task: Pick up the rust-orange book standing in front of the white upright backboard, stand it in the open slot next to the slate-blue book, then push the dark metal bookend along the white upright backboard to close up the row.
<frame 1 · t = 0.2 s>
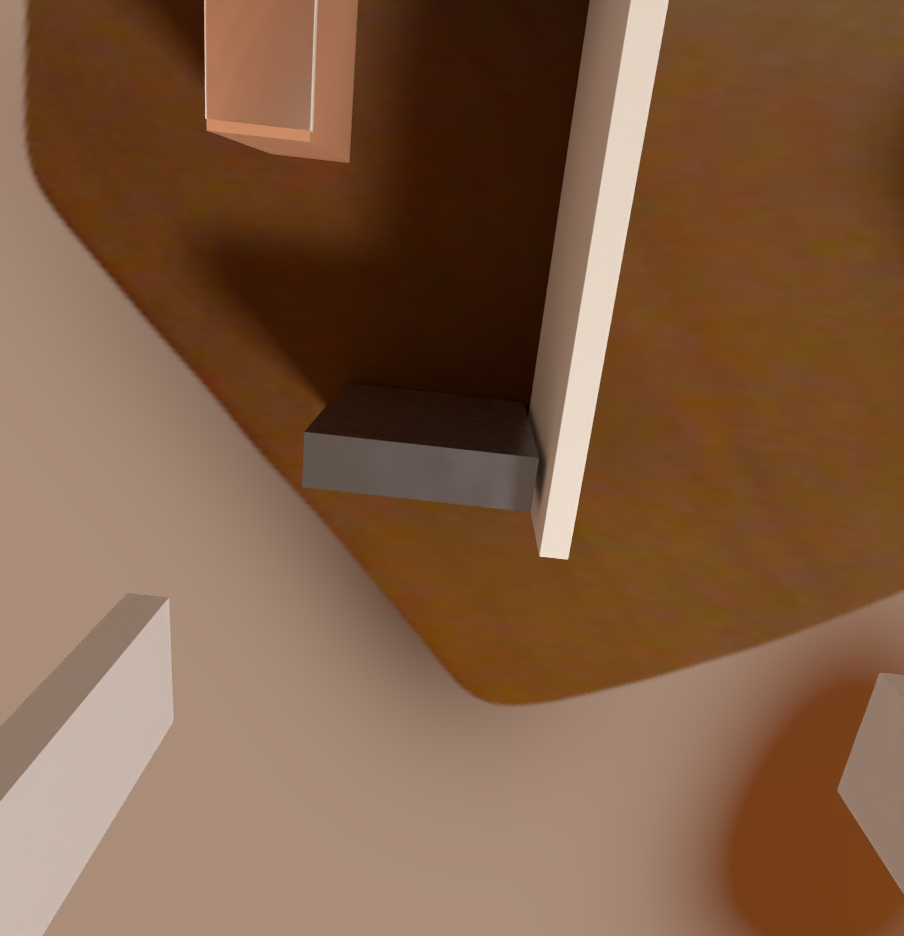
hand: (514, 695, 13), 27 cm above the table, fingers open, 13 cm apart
white upright backboard: (577, 166, 35), on the table
bookend: (426, 439, 34), point 5 cm above the table, slide at 0.0 cm
rust book: (314, 46, 34), on the table
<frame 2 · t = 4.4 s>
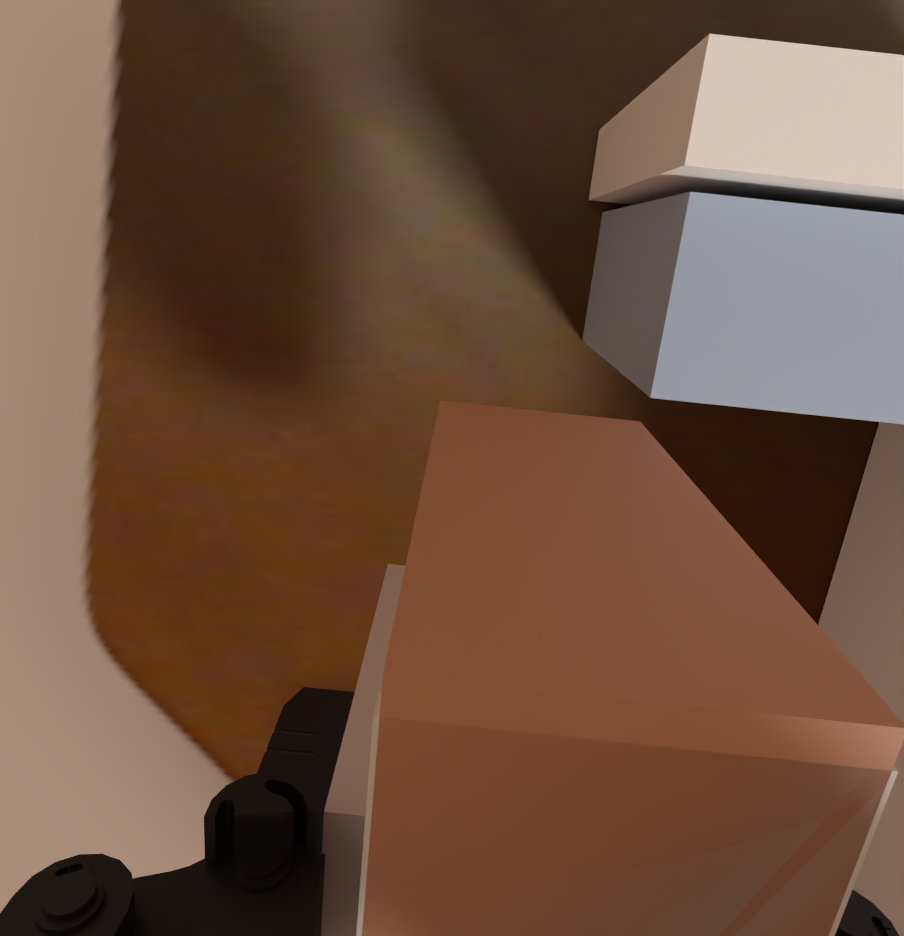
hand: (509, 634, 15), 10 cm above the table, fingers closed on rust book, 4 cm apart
white upright backboard: (832, 631, 26), on the table
rust book: (508, 628, 15), point 10 cm above the table, touching gripper
blue book: (745, 294, 22), on the table
when the fingers open (1 cm above the table, at t = 7.7 s): rust book stays where it is, on the table.
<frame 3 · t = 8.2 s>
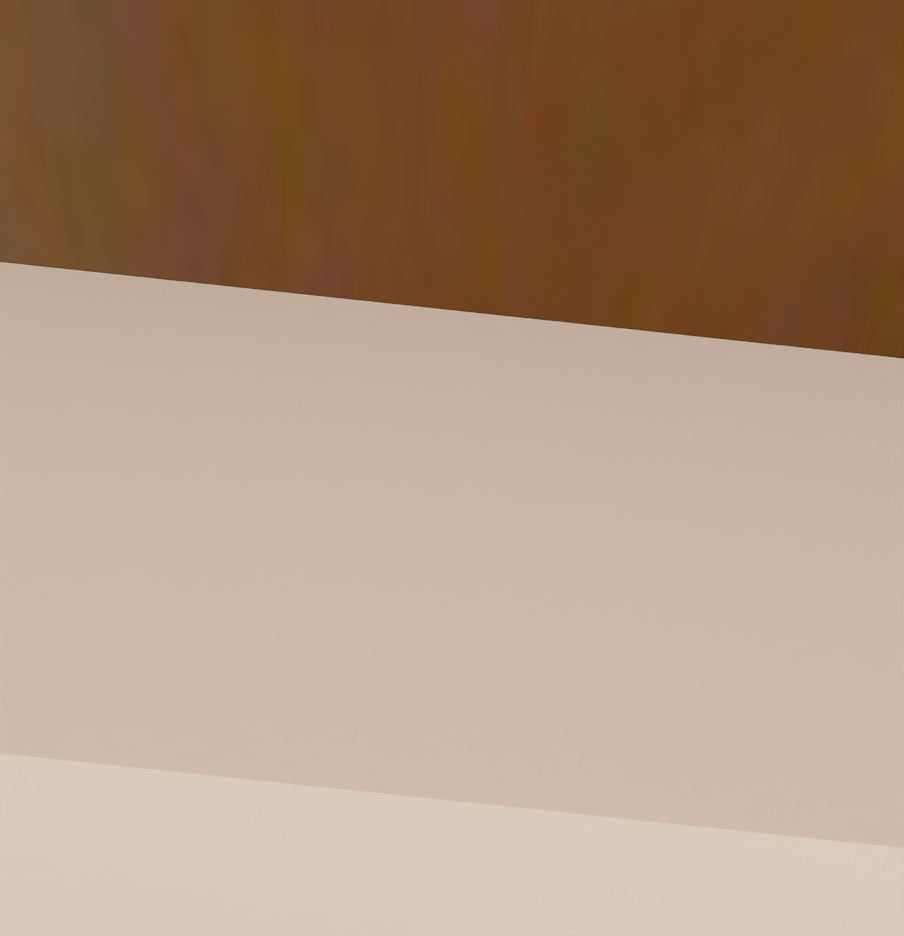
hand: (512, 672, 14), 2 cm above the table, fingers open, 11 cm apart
white upright backboard: (481, 344, 13), on the table
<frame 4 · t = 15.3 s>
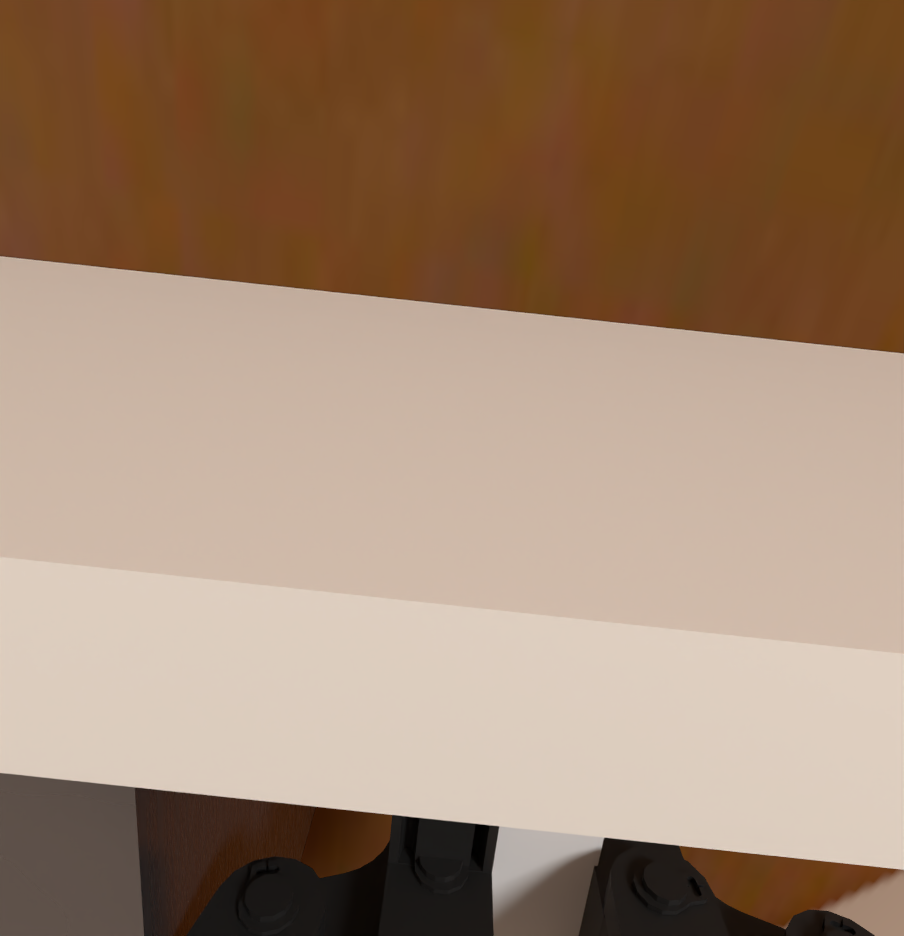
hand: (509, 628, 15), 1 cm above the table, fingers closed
white upright backboard: (166, 303, 15), on the table
bookend: (210, 717, 12), point 5 cm above the table, slide at 10.8 cm, touching hand, rust book
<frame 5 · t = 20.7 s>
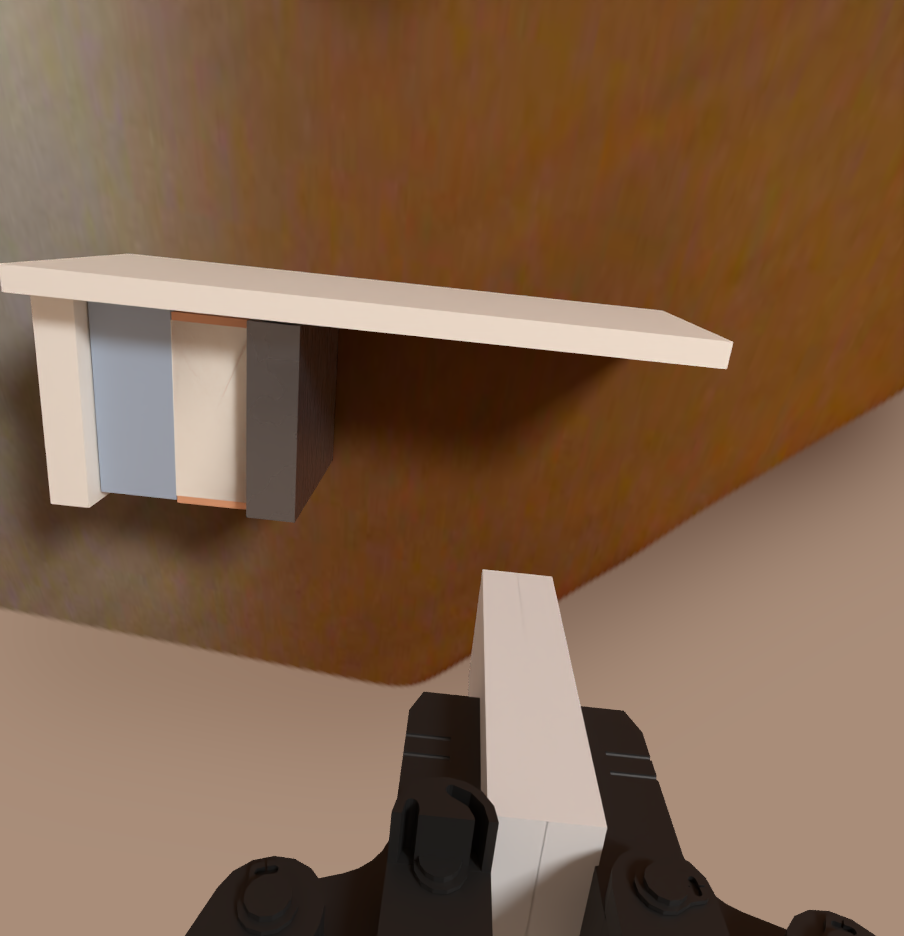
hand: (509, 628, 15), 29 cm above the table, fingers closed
white upright backboard: (395, 292, 42), on the table
bookend: (296, 402, 39), point 5 cm above the table, slide at 18.1 cm
rust book: (264, 378, 44), on the table, touching blue book
blue book: (201, 369, 44), on the table, touching rust book
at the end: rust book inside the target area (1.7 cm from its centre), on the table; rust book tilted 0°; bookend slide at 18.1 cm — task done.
